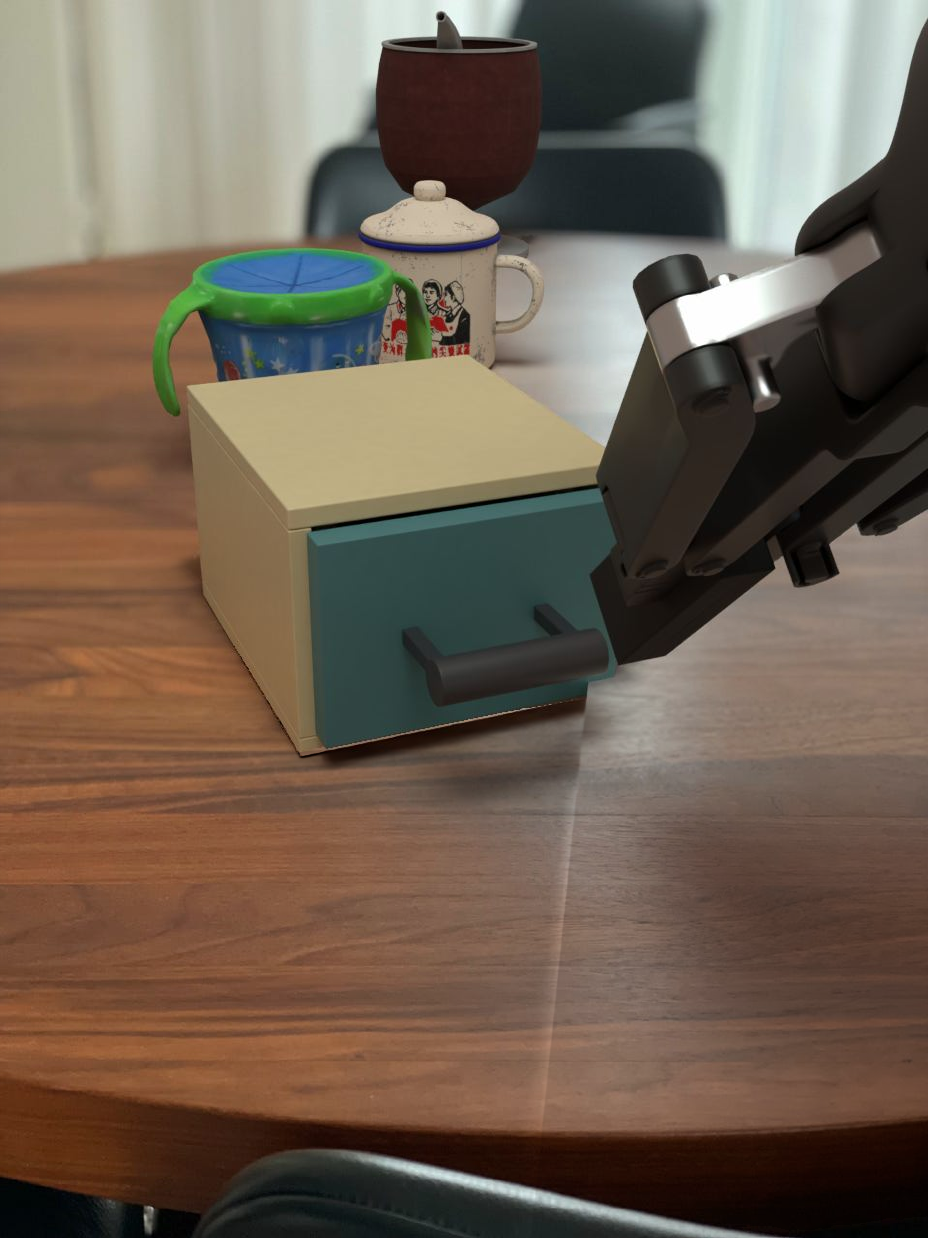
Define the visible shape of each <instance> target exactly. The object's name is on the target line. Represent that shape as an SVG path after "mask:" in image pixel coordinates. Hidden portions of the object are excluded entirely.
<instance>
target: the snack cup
mask: <svg viewBox="0 0 928 1238" xmlns="http://www.w3.org/2000/svg"><path fill="white" fill-rule="evenodd" d="M191 279H192V280H191V283H190V284H189V286H188V287H187V288H186V289H184V290H183V291H181V292H179V294H177V296H175V297H174V298H173V299H171V300H170V302H169V304H168V306H167V308H166V309H165V311H164V312H163V315H162V316H161V318H160V320H159V322H158V326H157V330H156V333H155V337H154V341H153V348H152V375H153V381H154V386H155V389H156V392H157V395H158V398H159V400H160V403H161V404H162V406H163V408H164V409H165V411H166V413H169V414H170V415H172V416H173V417H174V418H175V417H176V418H177V417H179V416H180V415H181V414H182V411H181V406H180V402H179V401H178V398H177V393H176V388H175V387H176V386H175V380H174V375H173V371H172V368H171V365H170V349H171V345H172V341H173V339H174V337H175V336H176V334H178V332H179V331H180V329H181V327H182V326H183V325H184V323H185V322H186V320H187V319H188V317H190V314H193V313H195V312H197V313H198V316H199V319H200V321H201V323H202V327H203V328H204V331H205V333H206V336H207V338H208V341H209V345H210V350H211V355H212V358H213V359H212V360H213V362H214V364H215V367H216V378H217V382H225V381H234V380H243V379H252V378H261V377H270V376H279V375H288V374H297V373H306V372H315V371H324V370H333V369H342V368H351V367H360V366H369V365H378V364H379V357H380V353H381V346H382V341H381V338H382V331H383V323H384V317H385V313H386V310H387V306H388V304H389V302H390V300H391V297H392V293H393V285H394V284H395V283H396V284H397V285H398V286H399V287H400V288H401V289H402V290H403V291H404V292H405V304H406V324H407V340H408V342H407V346H406V352H405V361H414V360H423V359H431V355H432V334H431V326H430V321H429V315H428V311H427V308H426V305H425V302H424V299H423V296H422V295H421V293H420V291H419V290H418V288H417V287H416V285H415V284H414V283H413V282H412V281H411V280H409V279H408V278H407V277H405V276H403V275H401V274H400V273H397V272H395V271H393V270H392V269H391V267H390V266H389V265H388V264H387V263H386V262H384V261H383V260H381V259H378V258H376V257H373V256H370V255H367V254H363V252H356V251H350V250H343V249H333V248H316V247H314V248H312V247H311V248H310V247H293V248H291V247H289V248H288V247H287V248H274V249H273V248H272V249H271V248H270V249H262V250H253V251H247V252H239V253H236V254H235V253H234V254H231V255H230V254H229V255H226V256H222V257H219V258H216V259H215V258H214V259H212V260H210V261H207V262H205V263H203V264H202V265H201V264H200V266H199V267H197V268H196V269H195V270H194V271H193V273H192V278H191Z"/></svg>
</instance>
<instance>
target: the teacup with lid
mask: <svg viewBox="0 0 928 1238" xmlns="http://www.w3.org/2000/svg"><path fill="white" fill-rule="evenodd" d="M445 194H446V188H445V185H444V184H443V183H442V182H440V181H430V180H428V181H419V182H417V183H416V184H415V186H414V195H415V196H412V197H408V198H405V199H402V200H400V201H398V202H397V203H396V204H394V205H393V206H392V207H390V208H388V209H387V210H385V211H383V212H379V213H375V214H373V215H370V216H369V217H367V218H365V219H364V220H363V221H362V223H361V225H360V230H359V231H358V238H359V240H360V241H361V243H362V254H367V255H370V256H373V257H376V258H378V259H381V260H383V261H384V262H386V263H387V264H388V265H389V266H390V267H391V269H392V270H393V271H395V272H397V273H400V274H401V275H403V276H405V277H407V278H408V279H409V280H411V281H412V282H413V283H414V284H415V285H416V287H417V288H418V290H419V291H420V293H421V295H422V296H423V299H424V302H425V305H426V308H427V311H428V315H429V321H430V326H431V334H432V355H431V359H432V358H441V357H450V356H459V355H469V356H470V357H472V358H473V359H475V360H476V361H478V362H479V363H481V364H482V365H484V366H485V367H487V368H488V369H490V368H491V366H493V364H494V362H495V359H496V335H505V334H513V333H517V332H518V331H521V330H523V329H524V328H526V327H527V326H528V325H530V324H531V322H532V321H533V320H534V319H535V318H536V316H537V315H538V313H539V311H540V308H541V306H542V303H543V300H544V296H545V281H544V277H543V274H542V272H541V271H540V269H539V268H538V267H537V266H536V265H535V264H534V263H533V262H532V261H530V260H529V259H527V258H523V257H520V256H514V255H497V242H498V241H499V240H500V238H501V234H502V232H501V231H500V227H499V225H498V223H497V222H496V220H495V219H493V218H492V217H490V216H488V215H486V214H483V213H479V212H475V211H474V212H473V211H472V210H470V209H469V208H467V207H466V206H465V205H463V204H462V203H461V202H459V201H457V200H454V199H451V198H447V197H444V196H445ZM498 268H499V269H501V268H502V269H503V268H506V269H515V270H517V271H520V272H522V273H523V274H524V275H526V277H527V278H528V279H529V281H530V283H531V287H532V288H531V289H532V292H531V293H532V295H531V300H530V304H529V306H528V307H527V310H526V311H525V312H524V313H523V314H522V315H520V316H519V317H517V318H515V319H511V320H497V277H498V276H497V275H498V274H497V271H498ZM381 341H382V346H381V353H380V357H379V364H387V363H396V362H405V352H406V346H407V342H408V340H407V324H406V304H405V292H404V291H403V290H402V289H401V288H400V287H399V286H398V285H397V284H396V283H395V284H394V285H393V293H392V297H391V300H390V302H389V304H388V306H387V310H386V313H385V317H384V323H383V331H382V338H381Z"/></svg>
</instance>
